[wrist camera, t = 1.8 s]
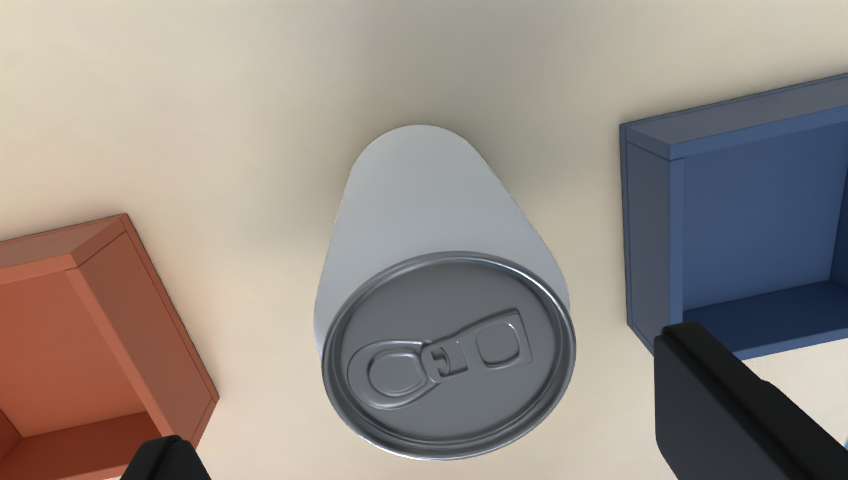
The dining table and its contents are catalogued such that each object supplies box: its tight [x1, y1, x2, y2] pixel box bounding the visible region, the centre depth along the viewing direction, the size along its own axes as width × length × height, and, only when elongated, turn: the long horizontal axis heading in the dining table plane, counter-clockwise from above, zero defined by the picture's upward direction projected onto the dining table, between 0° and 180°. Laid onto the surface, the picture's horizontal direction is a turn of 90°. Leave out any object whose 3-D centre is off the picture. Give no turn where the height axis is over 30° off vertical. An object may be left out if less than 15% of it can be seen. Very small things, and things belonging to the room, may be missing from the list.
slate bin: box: [620, 73, 848, 361], centre depth 21 cm, size 11×11×4 cm
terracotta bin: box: [0, 214, 219, 480], centre depth 21 cm, size 11×11×4 cm
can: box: [314, 125, 576, 461], centre depth 16 cm, size 6×6×12 cm
